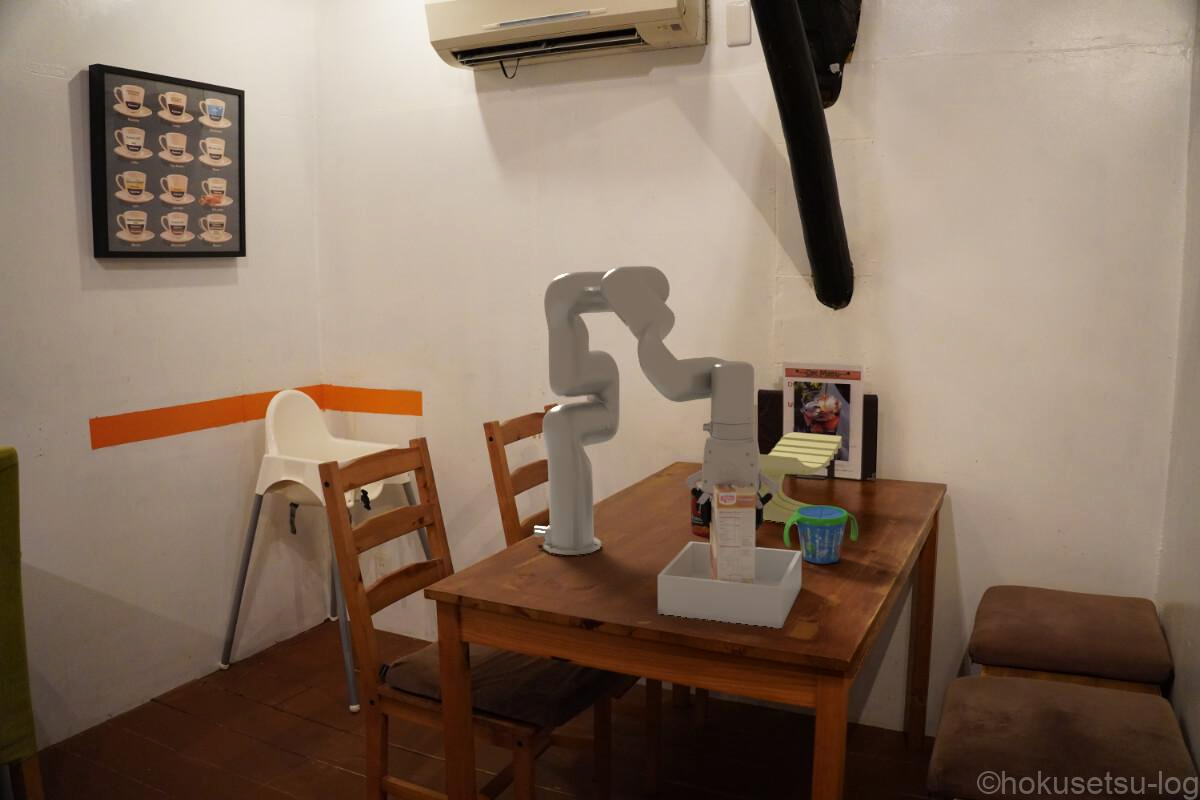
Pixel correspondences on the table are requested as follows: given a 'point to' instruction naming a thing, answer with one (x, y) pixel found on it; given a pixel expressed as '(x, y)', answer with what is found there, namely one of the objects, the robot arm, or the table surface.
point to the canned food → (698, 516)
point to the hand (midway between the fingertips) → (731, 525)
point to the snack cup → (821, 532)
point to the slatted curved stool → (794, 468)
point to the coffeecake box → (732, 533)
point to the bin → (730, 588)
